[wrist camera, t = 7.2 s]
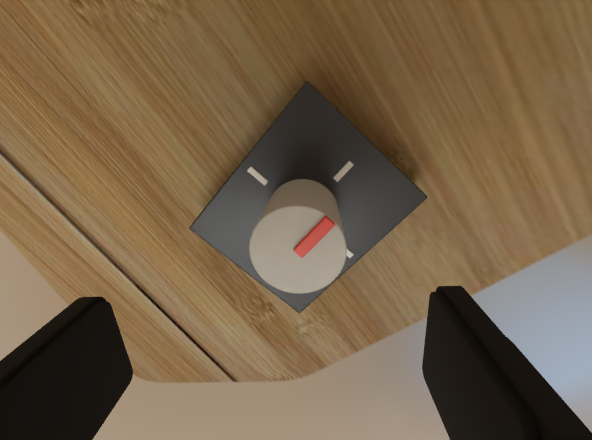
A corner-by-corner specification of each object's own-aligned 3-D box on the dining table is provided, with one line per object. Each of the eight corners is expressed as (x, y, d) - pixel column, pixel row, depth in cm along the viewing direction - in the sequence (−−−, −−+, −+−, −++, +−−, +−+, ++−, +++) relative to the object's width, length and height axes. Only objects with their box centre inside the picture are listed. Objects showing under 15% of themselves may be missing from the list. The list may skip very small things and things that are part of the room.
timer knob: (305, 259, 20) (301, 314, 15) (252, 216, 19) (227, 257, 14) (353, 211, 19) (369, 252, 13) (299, 163, 18) (291, 185, 12)
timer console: (301, 290, 24) (299, 315, 22) (204, 214, 23) (187, 229, 20) (413, 185, 21) (429, 198, 18) (308, 84, 19) (306, 79, 16)
